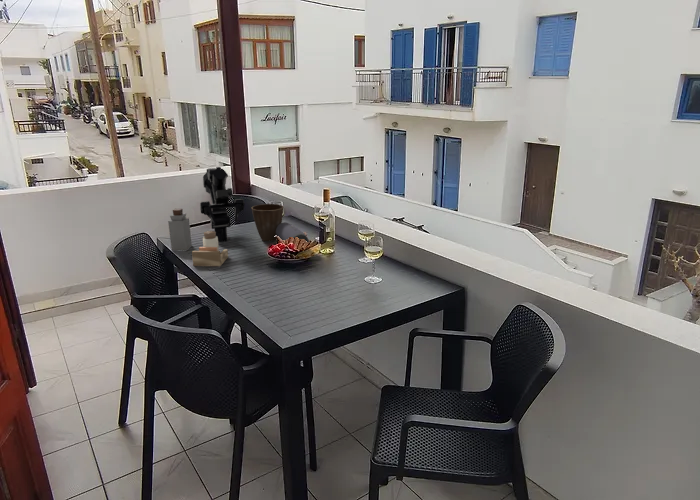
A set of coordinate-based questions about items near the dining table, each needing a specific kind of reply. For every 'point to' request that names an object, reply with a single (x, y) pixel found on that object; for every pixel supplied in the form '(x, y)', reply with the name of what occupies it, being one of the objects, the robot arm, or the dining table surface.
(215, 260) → the wooden frame
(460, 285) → the dining table surface
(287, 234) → the bluetooth speaker
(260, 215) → the plant pot
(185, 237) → the perfume bottle
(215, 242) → the jar
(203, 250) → the plate
